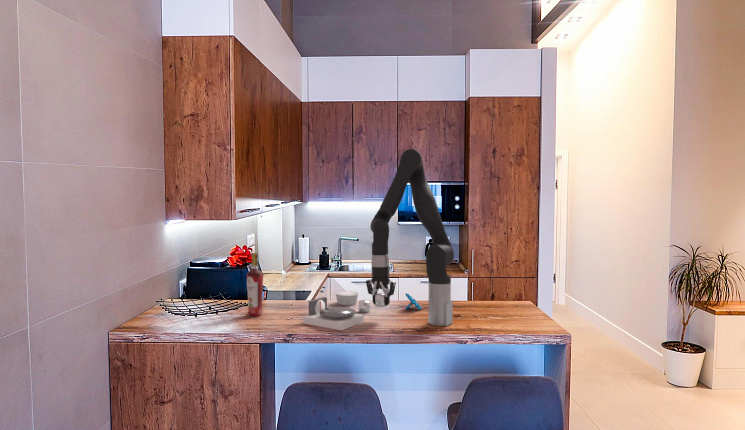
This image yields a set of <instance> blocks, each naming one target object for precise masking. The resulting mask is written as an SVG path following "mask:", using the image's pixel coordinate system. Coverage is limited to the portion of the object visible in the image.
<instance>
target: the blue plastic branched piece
mask: <svg viewBox="0 0 745 430" xmlns="http://www.w3.org/2000/svg"><path fill="white" fill-rule="evenodd" d="M405 296H406V298H407V300H408V301H410V302H409V304H408V305H407V306H406V307H405V310H409V308H410V307H412V306H415V308H417V309H418V310H420V311H422V306H420V304H419V303H418V302H417V301H416V299H415V298H413V296H412V295H410V293H407V292H406V293H405Z"/></svg>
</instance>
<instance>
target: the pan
mask: <svg viewBox="0 0 745 430" xmlns="http://www.w3.org/2000/svg"><path fill="white" fill-rule="evenodd" d="M355 313H356V309H354V308H351V307H346V306H332V307H330V306H329V307H327V308H325V309H322V310H320V315H321V316H324V317H330V318H343V317H349V316H353V315H355Z"/></svg>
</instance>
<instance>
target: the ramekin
mask: <svg viewBox="0 0 745 430" xmlns="http://www.w3.org/2000/svg"><path fill="white" fill-rule="evenodd" d="M358 296H359V292H357V291H355V290H354V291H353V290H342V291H341V290H340V291H337V292H335V297H336V298H335V299H336V303H337V304H338V305H339V306H353V305H356V304H357V302H358V298H359V297H358Z"/></svg>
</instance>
